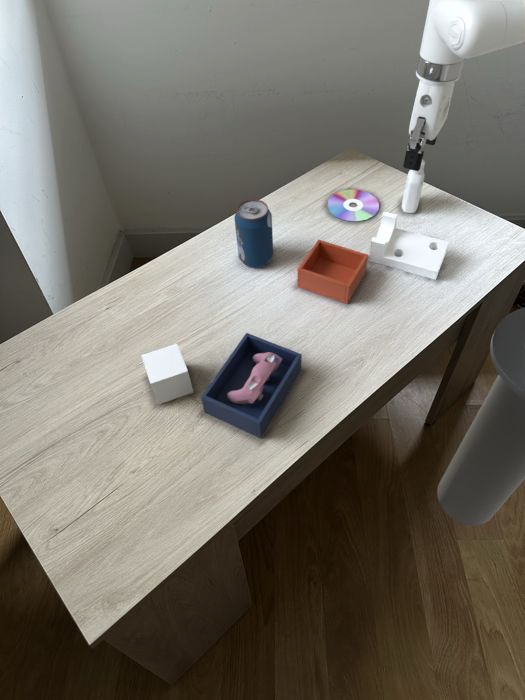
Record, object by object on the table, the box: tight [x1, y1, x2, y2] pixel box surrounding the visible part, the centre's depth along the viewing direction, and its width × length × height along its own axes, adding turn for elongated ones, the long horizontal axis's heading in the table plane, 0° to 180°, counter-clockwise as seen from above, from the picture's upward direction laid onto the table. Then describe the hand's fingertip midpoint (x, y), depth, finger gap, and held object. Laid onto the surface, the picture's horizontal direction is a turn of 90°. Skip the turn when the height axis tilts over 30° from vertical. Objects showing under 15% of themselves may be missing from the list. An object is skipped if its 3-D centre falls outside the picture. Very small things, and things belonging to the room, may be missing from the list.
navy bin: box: [200, 332, 303, 439], centre depth 83 cm, size 10×14×5 cm
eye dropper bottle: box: [401, 158, 426, 214], centre depth 107 cm, size 4×6×12 cm
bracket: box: [369, 211, 450, 281], centre depth 99 cm, size 13×7×8 cm, turn 64°
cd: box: [327, 189, 380, 222], centre depth 113 cm, size 11×11×1 cm
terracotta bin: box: [296, 239, 369, 305], centre depth 97 cm, size 10×9×5 cm
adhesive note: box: [140, 343, 194, 406], centre depth 84 cm, size 6×6×6 cm
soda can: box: [234, 199, 274, 269], centre depth 99 cm, size 7×7×12 cm
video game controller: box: [227, 352, 282, 404], centre depth 82 cm, size 10×5×7 cm, turn 151°
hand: (419, 155), depth 103 cm, fingers open, 9 cm apart
